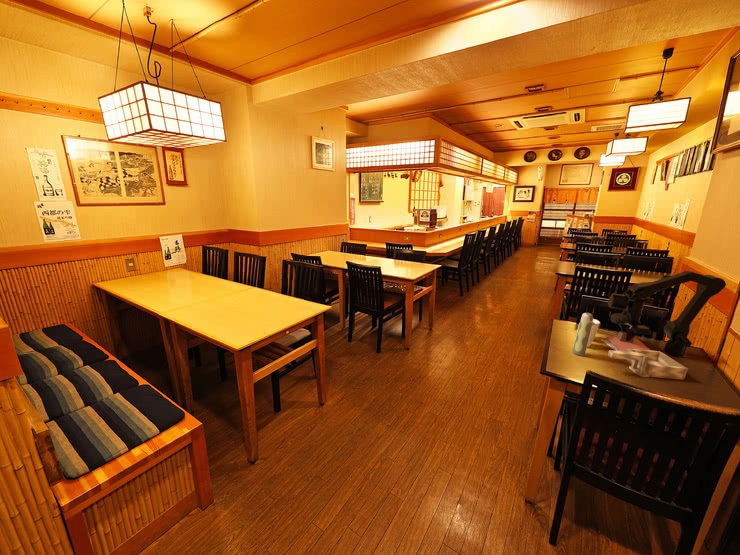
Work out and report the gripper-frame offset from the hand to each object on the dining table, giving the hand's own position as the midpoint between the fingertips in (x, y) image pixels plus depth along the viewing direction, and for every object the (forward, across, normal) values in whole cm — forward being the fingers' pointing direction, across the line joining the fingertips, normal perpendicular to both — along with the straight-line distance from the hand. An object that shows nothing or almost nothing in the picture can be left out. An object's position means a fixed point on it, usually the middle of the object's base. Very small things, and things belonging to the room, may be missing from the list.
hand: (625, 339), depth 150 cm
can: (+3, +3, -21) cm, 22 cm away
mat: (+3, +4, 0) cm, 5 cm away
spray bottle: (+3, +13, -28) cm, 31 cm away
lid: (+2, +4, 0) cm, 5 cm away
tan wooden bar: (-3, +25, -17) cm, 31 cm away
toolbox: (+3, +21, -4) cm, 22 cm away
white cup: (+3, -5, -15) cm, 16 cm away
